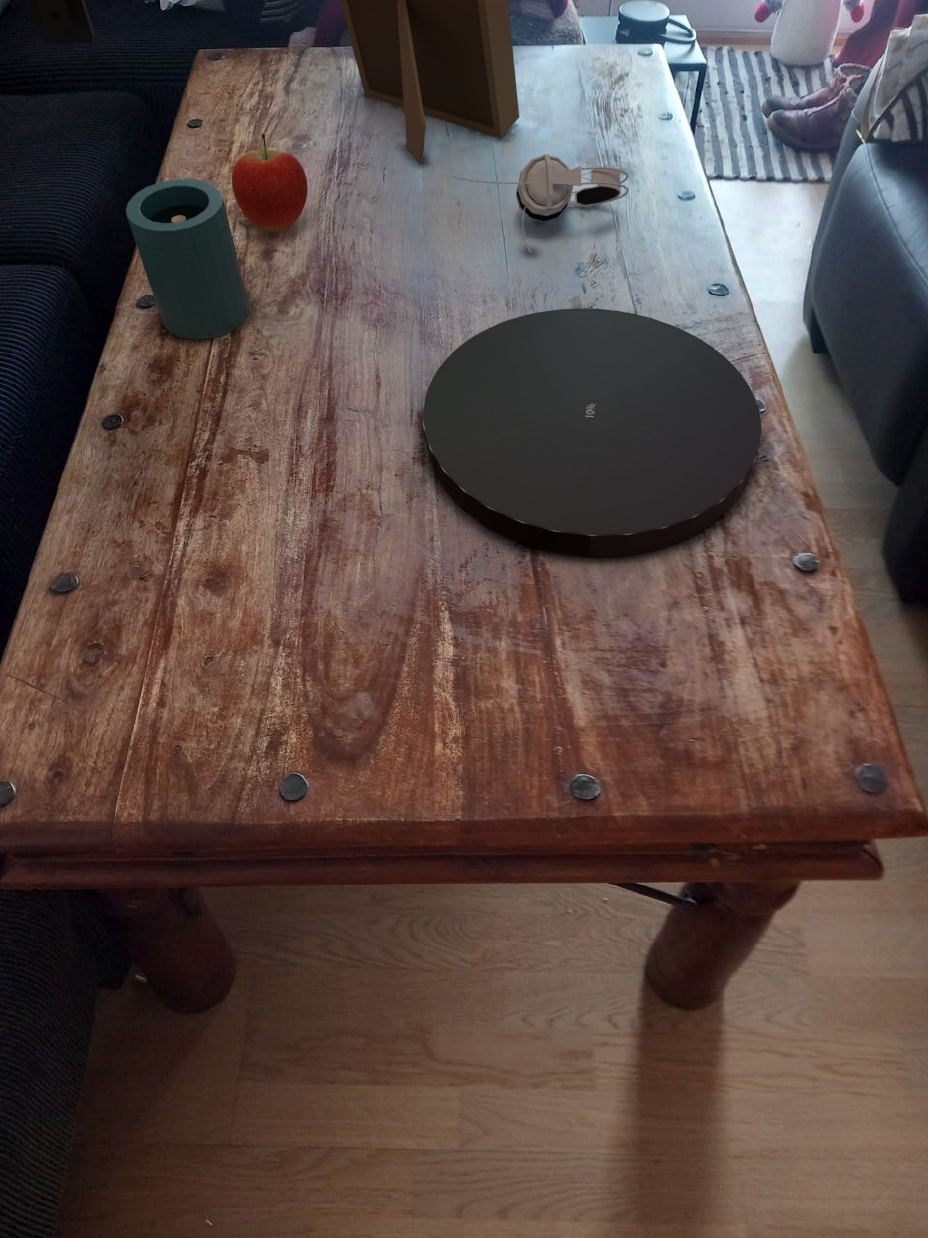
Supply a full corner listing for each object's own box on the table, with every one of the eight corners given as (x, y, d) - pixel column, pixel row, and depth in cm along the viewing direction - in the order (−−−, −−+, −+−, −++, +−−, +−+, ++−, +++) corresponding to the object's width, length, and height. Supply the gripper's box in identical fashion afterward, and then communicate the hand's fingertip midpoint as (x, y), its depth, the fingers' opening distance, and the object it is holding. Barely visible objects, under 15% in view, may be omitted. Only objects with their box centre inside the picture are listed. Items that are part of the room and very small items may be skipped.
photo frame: (383, 83, 126) (364, -147, 106) (519, 124, 118) (526, -115, 98) (315, 129, 119) (281, -109, 98) (455, 176, 111) (448, -70, 91)
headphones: (445, 206, 107) (614, 199, 108) (453, 257, 101) (632, 249, 102) (445, 134, 100) (626, 128, 101) (454, 186, 94) (645, 178, 96)
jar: (155, 341, 94) (117, 232, 84) (169, 288, 99) (135, 179, 89) (243, 338, 94) (215, 229, 84) (253, 285, 99) (228, 177, 89)
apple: (231, 241, 104) (209, 153, 96) (257, 203, 109) (239, 115, 100) (298, 249, 103) (282, 161, 95) (321, 210, 107) (308, 123, 99)
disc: (429, 333, 94) (427, 307, 91) (724, 329, 93) (731, 304, 91) (419, 560, 76) (417, 536, 74) (783, 557, 75) (793, 533, 73)
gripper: (-57, -408, 50) (59, -43, 64) (-179, -347, 40) (-9, 71, 54) (79, -412, 50) (167, -46, 64) (-8, -353, 40) (118, 67, 54)
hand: (86, 7), depth 59 cm, fingers open, 9 cm apart
